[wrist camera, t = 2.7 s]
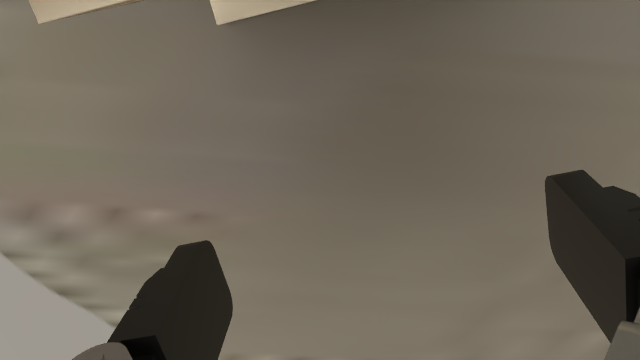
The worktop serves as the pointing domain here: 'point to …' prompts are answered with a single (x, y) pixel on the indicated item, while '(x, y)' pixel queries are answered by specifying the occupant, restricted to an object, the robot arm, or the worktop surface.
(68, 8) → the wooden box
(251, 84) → the worktop surface
